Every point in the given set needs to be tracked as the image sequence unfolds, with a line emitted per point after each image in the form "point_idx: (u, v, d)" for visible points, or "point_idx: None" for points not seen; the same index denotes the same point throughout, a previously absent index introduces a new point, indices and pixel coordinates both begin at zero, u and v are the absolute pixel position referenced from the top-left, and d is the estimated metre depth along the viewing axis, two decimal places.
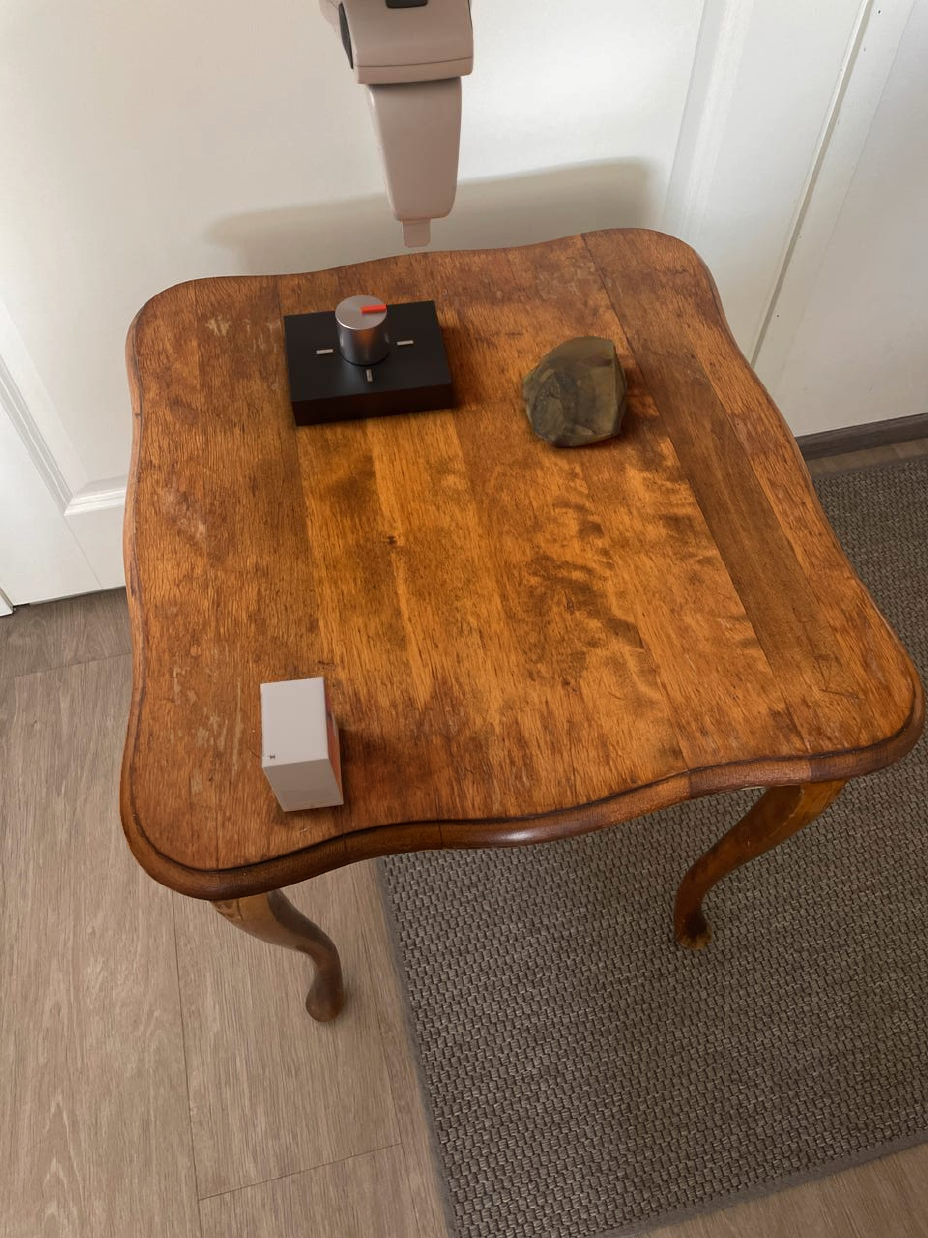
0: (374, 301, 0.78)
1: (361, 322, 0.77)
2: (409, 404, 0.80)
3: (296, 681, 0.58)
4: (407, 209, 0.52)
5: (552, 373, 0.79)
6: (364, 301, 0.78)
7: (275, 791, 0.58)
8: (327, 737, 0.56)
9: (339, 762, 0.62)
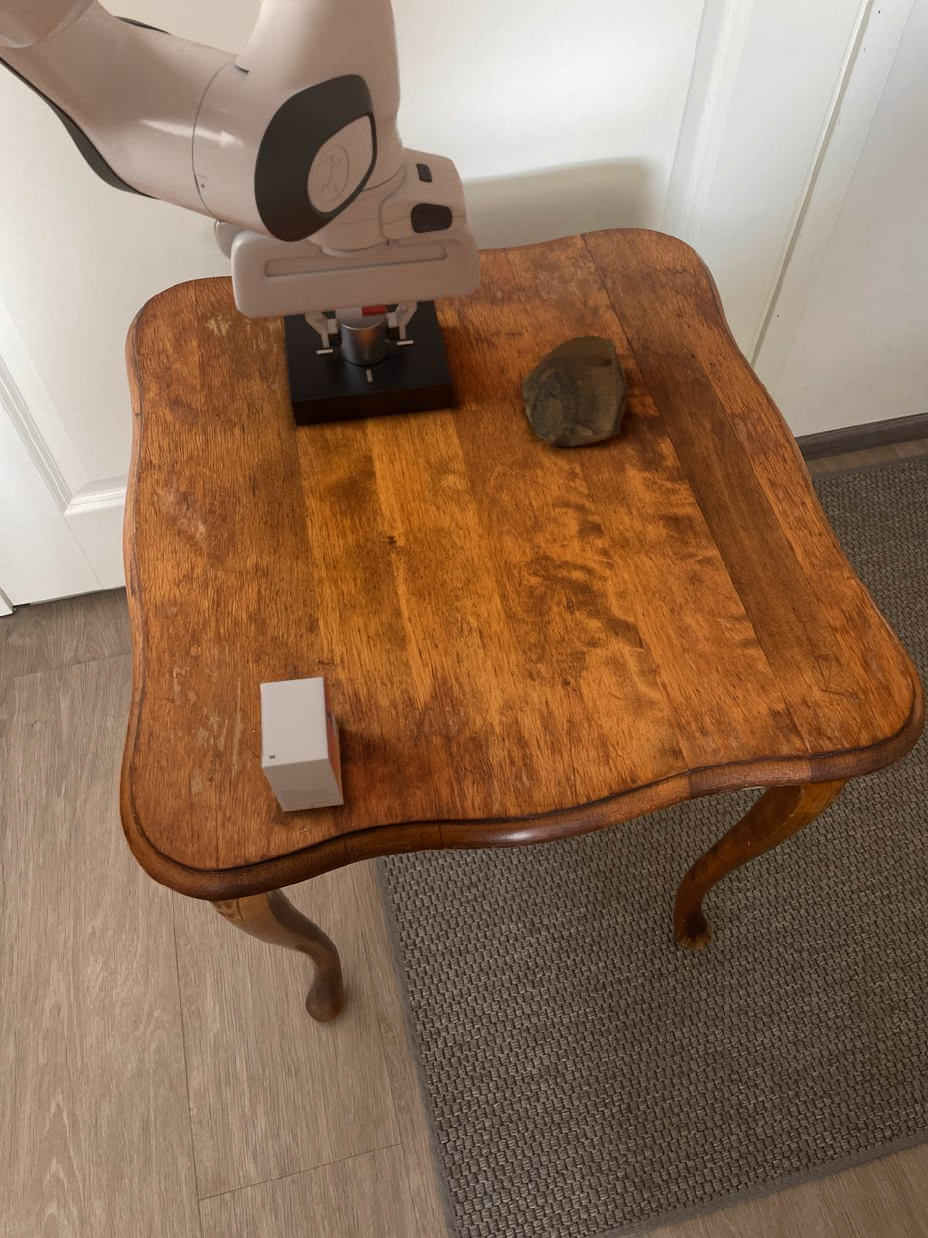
0: None
1: (361, 322, 0.77)
2: (409, 404, 0.80)
3: (296, 681, 0.58)
4: None
5: (551, 373, 0.79)
6: None
7: (275, 791, 0.58)
8: (327, 737, 0.56)
9: (339, 762, 0.62)
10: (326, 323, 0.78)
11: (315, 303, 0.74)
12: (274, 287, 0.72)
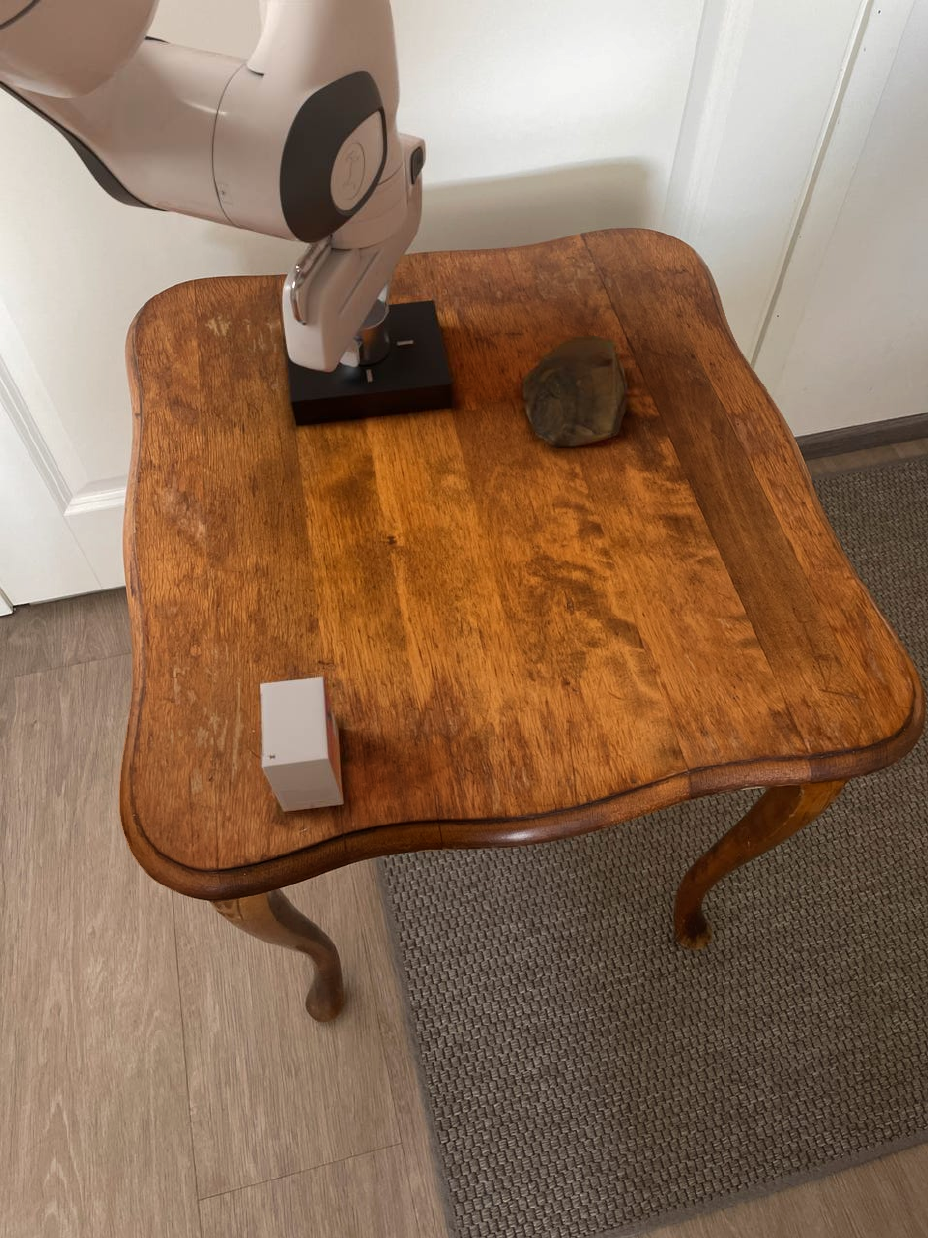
0: None
1: (376, 315, 0.77)
2: (409, 404, 0.80)
3: (296, 681, 0.58)
4: None
5: (551, 373, 0.79)
6: None
7: (275, 791, 0.58)
8: (327, 737, 0.56)
9: (339, 762, 0.62)
10: None
11: (361, 317, 0.73)
12: (343, 321, 0.70)
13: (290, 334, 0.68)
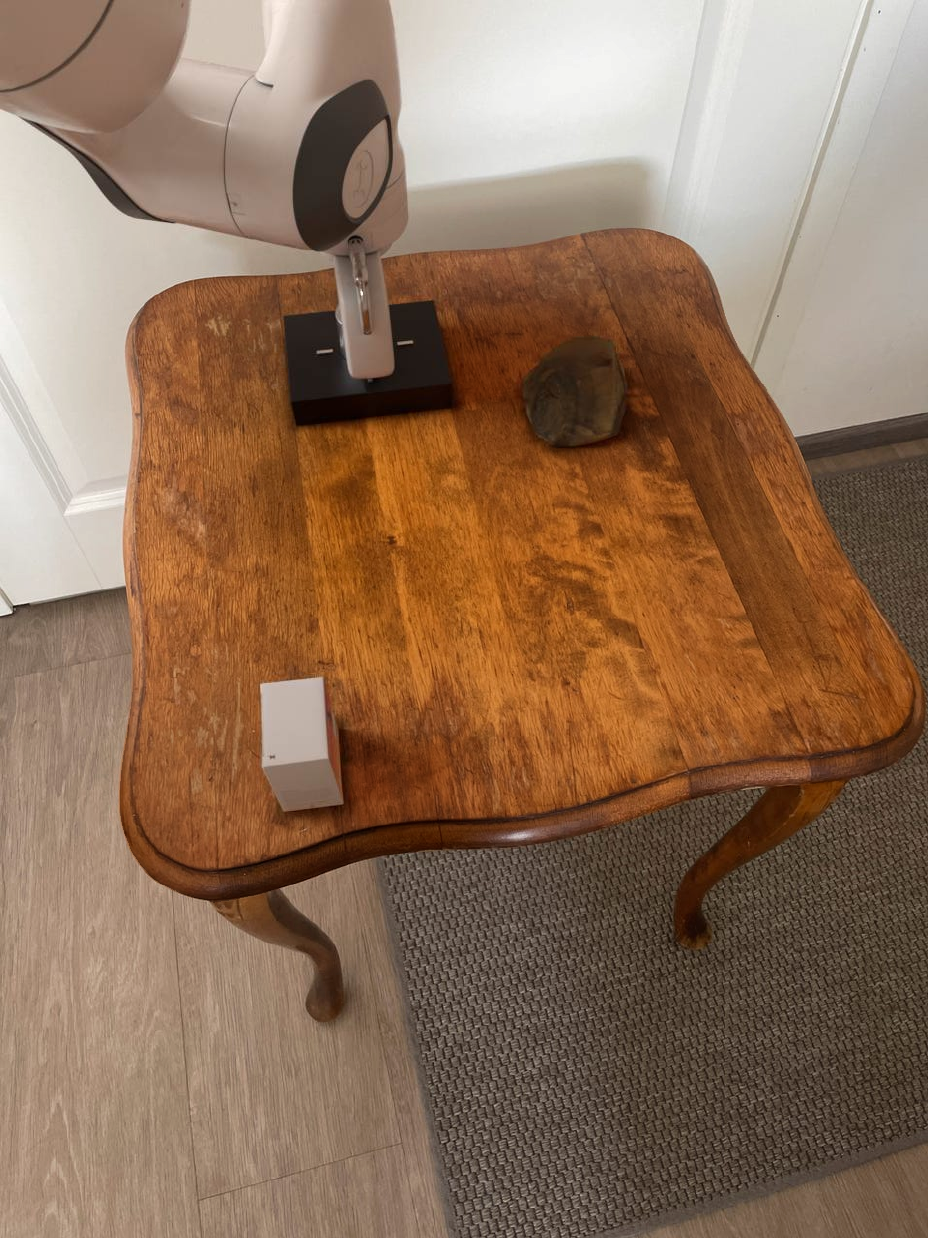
0: None
1: None
2: (409, 404, 0.80)
3: (296, 681, 0.58)
4: None
5: (551, 373, 0.79)
6: None
7: (275, 791, 0.58)
8: (327, 737, 0.56)
9: (339, 762, 0.62)
10: None
11: None
12: None
13: (354, 349, 0.68)
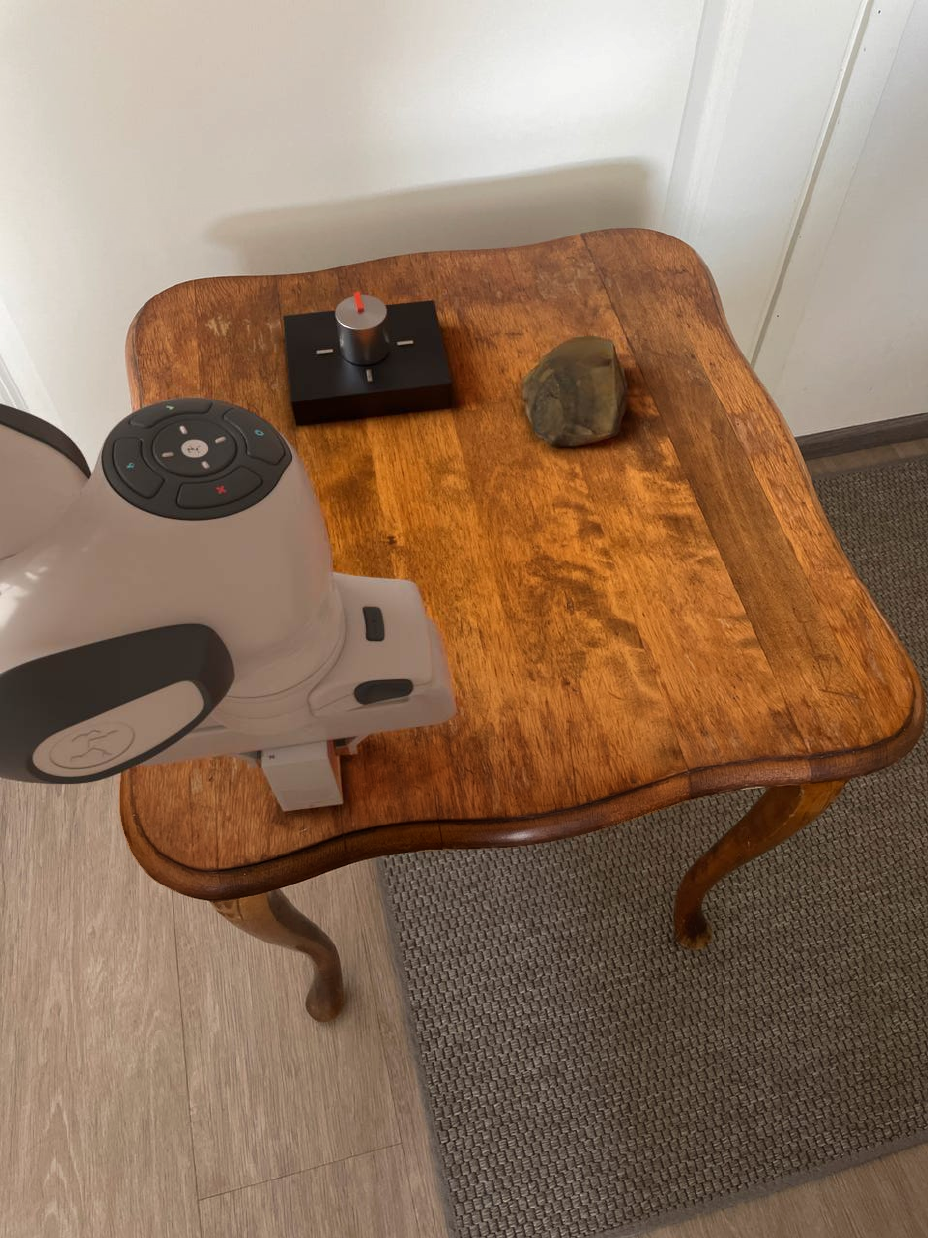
0: (346, 303, 0.78)
1: (377, 309, 0.78)
2: (409, 404, 0.80)
3: None
4: None
5: (551, 373, 0.79)
6: (346, 310, 0.77)
7: (275, 791, 0.58)
8: None
9: (339, 762, 0.62)
10: None
11: (231, 750, 0.54)
12: (172, 743, 0.52)
13: None
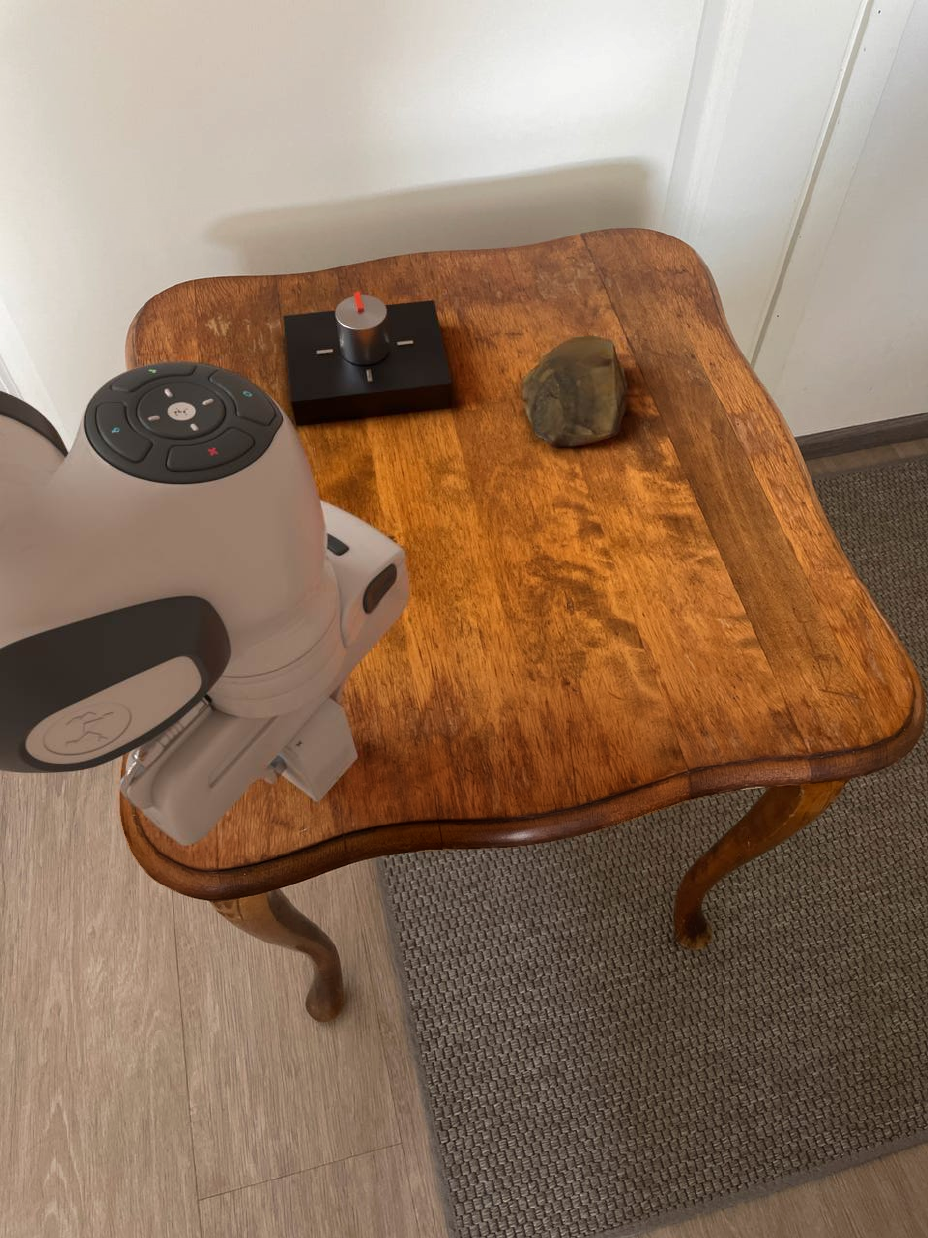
0: (346, 303, 0.78)
1: (377, 309, 0.78)
2: (409, 404, 0.80)
3: None
4: None
5: (551, 373, 0.79)
6: (346, 310, 0.77)
7: (310, 780, 0.57)
8: None
9: None
10: None
11: (266, 762, 0.52)
12: (222, 789, 0.49)
13: None
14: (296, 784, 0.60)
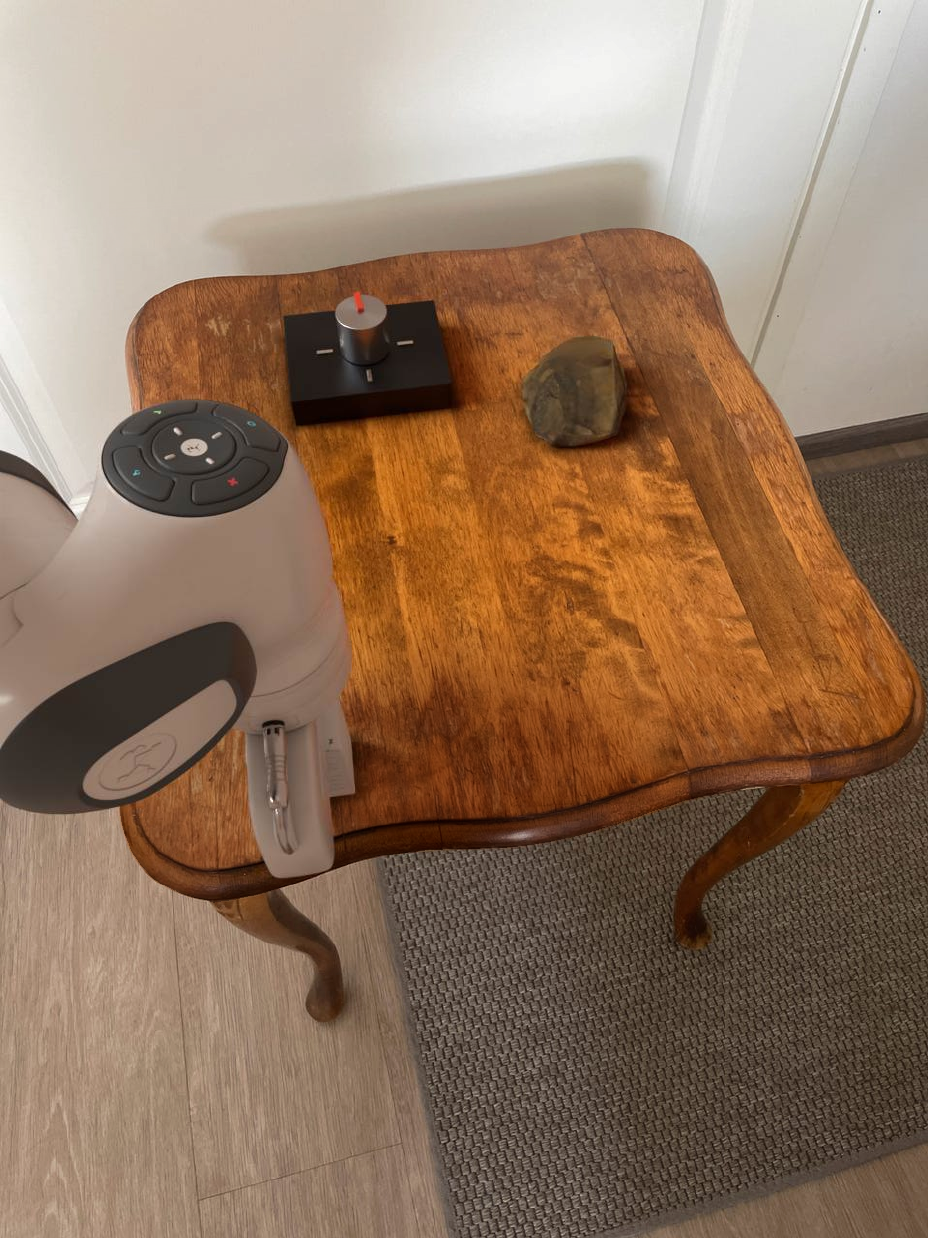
0: (346, 303, 0.78)
1: (377, 309, 0.78)
2: (409, 404, 0.80)
3: None
4: None
5: (551, 373, 0.79)
6: (346, 310, 0.77)
7: (348, 771, 0.59)
8: None
9: None
10: None
11: (326, 764, 0.54)
12: (325, 800, 0.51)
13: (274, 861, 0.48)
14: None
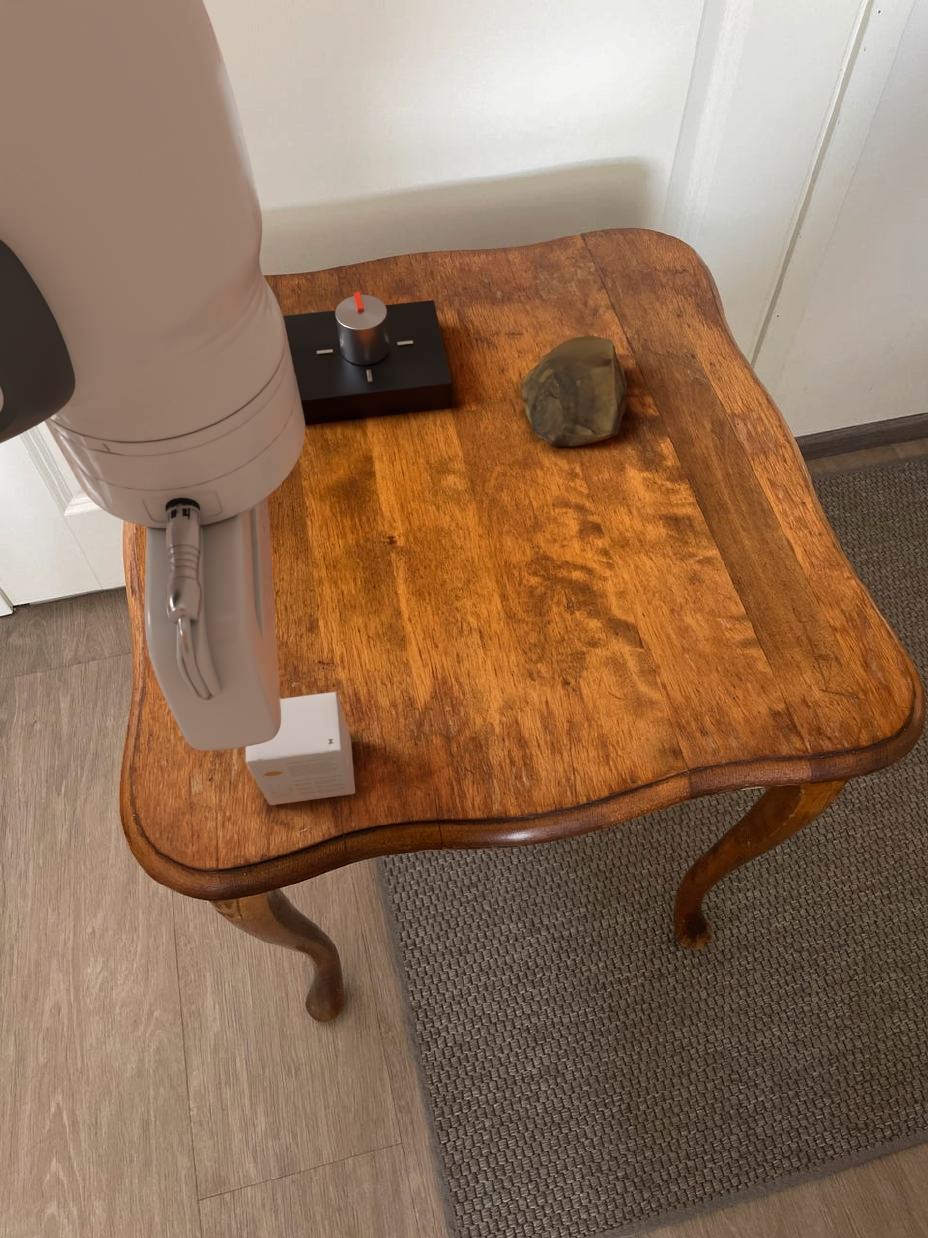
0: (346, 303, 0.78)
1: (377, 309, 0.78)
2: (409, 404, 0.80)
3: None
4: None
5: (551, 373, 0.79)
6: (346, 310, 0.77)
7: (348, 771, 0.59)
8: (313, 695, 0.57)
9: None
10: None
11: (273, 602, 0.39)
12: (267, 639, 0.35)
13: (188, 718, 0.33)
14: (328, 793, 0.61)
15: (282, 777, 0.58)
